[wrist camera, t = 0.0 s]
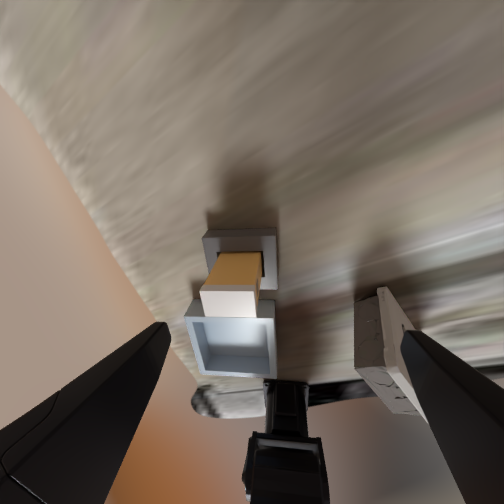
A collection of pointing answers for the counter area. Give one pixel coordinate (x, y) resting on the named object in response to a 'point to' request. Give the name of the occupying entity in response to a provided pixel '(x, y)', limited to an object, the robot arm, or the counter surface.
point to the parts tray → (234, 342)
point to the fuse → (233, 285)
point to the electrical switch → (384, 351)
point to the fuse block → (245, 249)
